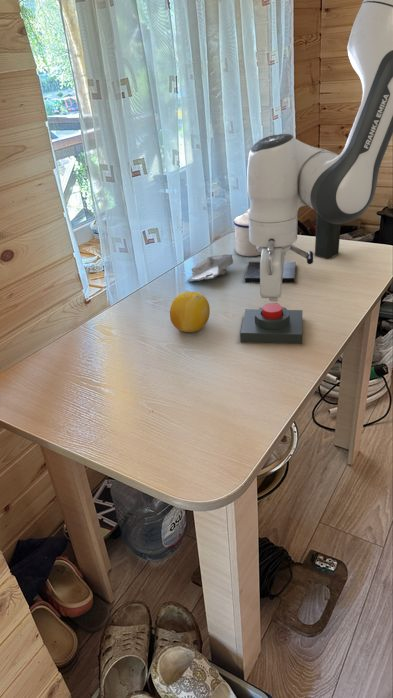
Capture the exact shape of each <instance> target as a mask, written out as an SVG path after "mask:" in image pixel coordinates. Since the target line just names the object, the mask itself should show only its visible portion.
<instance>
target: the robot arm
mask: <svg viewBox="0 0 393 698" xmlns="http://www.w3.org/2000/svg"><path fill="white" fill-rule="evenodd" d="M359 7H360V8H359V10H358V12H357V14H356V17H355V18H354V21H353V25H352V27H351V30H350V34H349V38H348V42H347V47H346V49H347V56H348V59H349V62H350V65H351V67H352V69H353V70H354V72H355V73H356V74H357V76H358V77H359V79H360V83H361V87H362V95H361V101H360V105H359V108H358V110H357V114H356V116H355V119H354V121H353V124H352V127H351V128H350V132H349V134H348V137H347V140H346V143H345V145H344V148H342V149H343V150H342V151H341V153H339V154H337V153H336V152H334V151H330V150H328V149H325V148H321V147H316V146H312V145H309V144H307V143H305V142H303V141H301V140H299V139H297V138H296V137H294V135H292V134H290V133H278V134H271V135H268V136H265V137H262V138H260V139H258V141H256V142H255V143H254V144H253V145H252V146H251V148H250V150H249V154H248V160H247V171H246V173H247V178H246V180H247V181H246V183H247V189H246V190H247V195H248V196H247V197H248V198H249V208H248V209H249V214H248V217H249V241H250V242H251V243H252V244H253V245H255V246H256V249H257V250H258V251H259V252H261V253H262V254H261V255H260V260H259V262H260V282H259V293H260V297H261V298H263V299H268V301H270V302H278V300H279V298H281V295H282V289H283V288H282V287H283V283H282V279H283V269H284V262H285V258H286V257H285V256H286V252H288V251H289V250H290V244H292V245H293V244H294V243H296V241H298V220H299V219H298V213H299V209H300V208H301V207H306V206H307V207H309V208H311V210H313V211H314V212H316V214H317V213H318V214H319V215H320V216H321V217H322V218H323V219H324V220H326V221H327V222H329V223H332V224H341V225H343V224H344V225H345V224H348V223H351V222H353V221H355V220H357V219H358V218H359V217H361V216H362V215H363V214H364V213H365V212H366V211H367V210H368V208H369V207H370V205H371V204H372V202H373V200H374V197H375V195H376V190H377V185H378V178H379V174H380V173H379V172H380V168H381V165H382V162H383V159H384V157H385V154H386V151H387V149H388V146H389V144H390V142H391V139H392V137H393V0H363V1H362V2H361V5H360V6H359Z"/></svg>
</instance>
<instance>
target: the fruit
mask: <svg viewBox="0 0 393 698" xmlns="http://www.w3.org/2000/svg"><path fill="white" fill-rule="evenodd" d="M210 313H211V307H210V303H209V300H208V299H207V298H206V296H204V295H203V293H200V292H198V291H190V290H187V291H184V292H181V293H179V294H178V295H176V297H174V299H173V300H172V302H171V305H170V308H169V318H170V322H171V324H172V325H173V327H174V328H176V329H177V330H179V331H180V332H185V333H197V332H199V331H200V330H202V329H203V328H204V327H205V326H206V325H207V323H208V322H209V321H208V320H209V318H210Z"/></svg>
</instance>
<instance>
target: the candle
mask: <svg viewBox="0 0 393 698" xmlns="http://www.w3.org/2000/svg"><path fill="white" fill-rule="evenodd" d="M315 219H316V222H315V240H314V241H315V243H314V255H315V256H316V257H319V258H323V259H332V258H334V257H335V256H338V255H339V253H340V237H341V226H342V224H332V223H329V222H327V221H326V220H324V219H323V218H322V217H321V216H320V215H319V214H318V213H317V212H316V218H315Z"/></svg>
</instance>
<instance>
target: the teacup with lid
mask: <svg viewBox="0 0 393 698" xmlns="http://www.w3.org/2000/svg"><path fill="white" fill-rule="evenodd" d="M249 209H250V208H248V209H247V210H246V212H245V213H243V214H240V215H238V216H237V217H235V218H234V220H233V224H234V236H235V237H234V239H235V240H234V241H235V252H236V253H237V254H238V255H240V256H243V257H257V256H261V252H259V251H258V250H257V249H256V246H255V245H253V244H252V243H251V242H250V241H249V217H248V214H249Z"/></svg>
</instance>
